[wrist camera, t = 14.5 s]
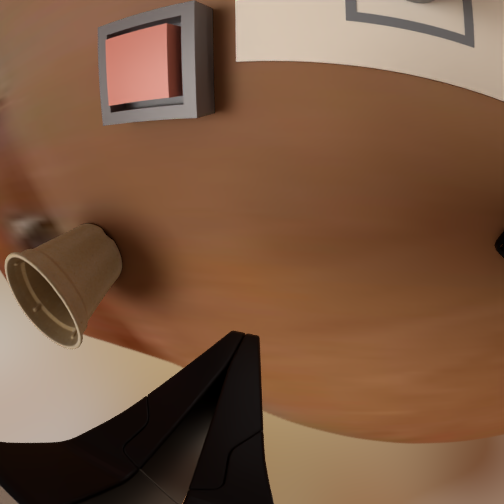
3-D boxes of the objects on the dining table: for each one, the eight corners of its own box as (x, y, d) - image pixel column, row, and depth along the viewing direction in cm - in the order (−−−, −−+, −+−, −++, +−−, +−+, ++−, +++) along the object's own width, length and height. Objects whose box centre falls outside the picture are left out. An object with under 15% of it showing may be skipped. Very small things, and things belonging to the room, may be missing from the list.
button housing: (212, 8, 14) (194, 0, 12) (214, 113, 17) (197, 117, 15) (121, 29, 16) (97, 27, 14) (125, 119, 19) (103, 125, 17)
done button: (186, 27, 14) (166, 23, 12) (188, 94, 16) (168, 97, 15) (128, 40, 15) (105, 39, 13) (131, 101, 17) (108, 105, 16)
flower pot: (100, 189, 23) (23, 239, 16) (155, 281, 26) (99, 348, 19) (54, 225, 27) (-5, 269, 20) (100, 297, 31) (52, 350, 24)
